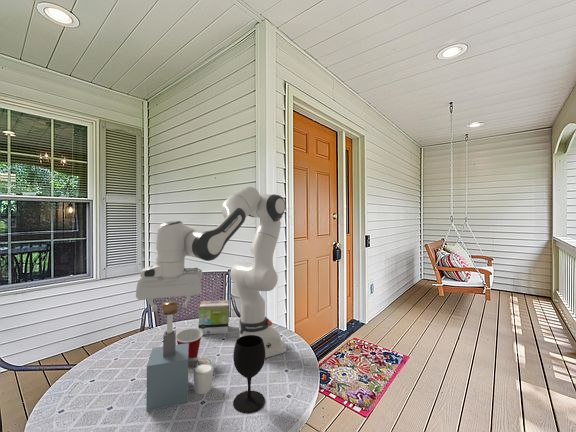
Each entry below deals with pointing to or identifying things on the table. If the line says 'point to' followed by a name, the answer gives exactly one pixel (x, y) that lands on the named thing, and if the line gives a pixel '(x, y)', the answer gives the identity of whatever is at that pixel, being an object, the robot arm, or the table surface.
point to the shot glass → (203, 378)
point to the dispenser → (168, 374)
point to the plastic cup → (190, 340)
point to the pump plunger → (169, 313)
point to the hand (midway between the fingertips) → (170, 309)
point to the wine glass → (249, 371)
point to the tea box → (214, 317)
